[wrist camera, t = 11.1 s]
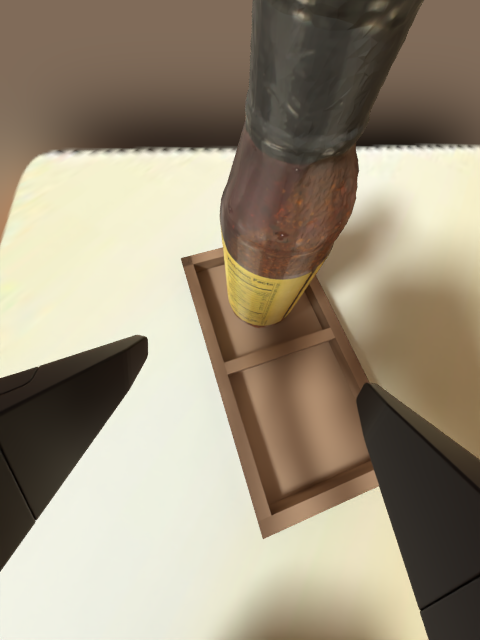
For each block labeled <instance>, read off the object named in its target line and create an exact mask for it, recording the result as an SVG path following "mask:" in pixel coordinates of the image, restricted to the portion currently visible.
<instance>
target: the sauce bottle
mask: <svg viewBox="0 0 480 640" xmlns="http://www.w3.org/2000/svg"><path fill="white" fill-rule="evenodd" d="M423 1H424V0H253V8H252V36H251V55H250V81H249V90H248V93H247V96H246V104H245V112H246V120H245V123H244V127H243V130H242V134H241V137H240V141H239V144H238V148H237V151H236V155H235V158H234V161H233V165H232V168H231V172H230V175H229V178H228V182H227V185H226V187H225V189H224V191H223V195H222V198H221V206H220V224H221V233H222V243H223V252H224V261H225V271H226V281H227V292H228V300H229V303H230V305H231V307H232V309H233V312H234V314H235V315H236V316H237V317H238V318H239V319H240V320H241V321H243V322H244V323H246V324H248V325H251V326H253V327H255V328H262V327H269V326H272V325H275V324H277V323H279V322H281V321H282V320H283V319H284V318H285V317H286V316H287V315H288V314H289V313H290V312H291V310H292V309H293V307H294V306H295V304H296V303H297V301H298V300H299V298H300V297H301V296H302V294H303V293H304V291H305V290H306V288H307V287H308V285H309V284H310V282H311V281H312V279H313V278H314V276H315V275H316V273H317V272H318V270H319V269H320V267H321V266H322V264H323V263H324V261H325V260H326V258H327V256H328V255H329V253H330V251H331V249H332V247H333V244H334V241H335V240H336V239H337V237H338V236H339V234H340V233H341V231H342V230H343V229H344V227H345V225H346V224H347V222H348V220H349V218H350V216H351V214H352V210H353V207H354V204H355V200H356V190H357V177H358V172H359V167H358V158H357V154H356V141H357V140H358V138H359V137H360V136H361V135H362V133H363V132H364V130H365V128H366V126H367V124H368V121H369V116H370V112H371V109H372V106H373V104H374V102H375V100H376V98H377V96H378V93H379V91H380V89H381V87H382V86H383V84H384V82H385V79H386V77H387V75H388V72H389V70H390V68H391V66H392V64H393V62H394V60H395V59H396V56H397V54H398V52H399V50H400V48H401V46H402V44H403V43H404V41H405V39H406V36H407V34H408V31H409V29H410V27H411V25H412V23H413V21H414V18H415V16H416V14H417V12H418V10H419V8H420V6H421V5H422V3H423Z"/></svg>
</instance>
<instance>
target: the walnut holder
mask: <svg viewBox="0 0 480 640" xmlns="http://www.w3.org/2000/svg"><path fill="white" fill-rule="evenodd" d="M181 261H182V264H183V268H184V271H185V274H186V278H187V281H188V285H189V288H190V292H191V295H192V298H193V302H194V305H195V309H196V312H197V315H198V319H199V322H200V326H201V329H202V332H203V336H204V339H205V343H206V346H207V350H208V353H209V356H210V360H211V363H212V367H213V370H214V373H215V377H216V380H217V384H218V387H219V390H220V394H221V397H222V401H223V404H224V408H225V411H226V414H227V418H228V421H229V425H230V428H231V431H232V435H233V438H234V442H235V445H236V448H237V452H238V455H239V459H240V462H241V466H242V469H243V472H244V476H245V479H246V483H247V486H248V489H249V493H250V496H251V500H252V503H253V506H254V510H255V513H256V517H257V520H258V524H259V527H260V530H261V534H262V537H263V539H264V538H266V537H269V536H271V535H273V534H275V533H277V532H280V531H282V530H284V529H286V528H288V527H290V526H293V525H295V524H297V523H299V522H301V521H304V520H306V519H308V518H310V517H312V516H314V515H317V514H319V513H321V512H323V511H325V510H328V509H330V508H332V507H334V506H336V505H339V504H341V503H343V502H345V501H347V500H349V499H352V498H354V497H356V496H358V495H360V494H363V493H365V492H367V491H369V490H371V489H373V488H376V487H378V486H379V484H378V481H377V478H376V475H375V472H374V469H373V466H372V462H371V459H370V456H369V453H368V450H367V447H366V444H365V440H364V436H363V432H362V428H361V423H360V418H359V414H358V409H357V404H356V398H357V396H358V394H359V392H360V390H361V388H362V387H363V385H364V384H365V383H367V382H368V383H369V381H368V379H367V377H366V375H365V373H364V371H363V369H362V367H361V365H360V363H359V361H358V359H357V357H356V355H355V353H354V351H353V349H352V347H351V345H350V343H349V341H348V339H347V337H346V335H345V333H344V331H343V329H342V327H341V325H340V323H339V321H338V319H337V317H336V315H335V313H334V311H333V309H332V307H331V305H330V303H329V301H328V299H327V297H326V295H325V293H324V291H323V289H322V287H321V285H320V283H319V281H318V279H317V277H316V275H315V276H314V278H313V279H312V281H311V282H310V284H309V285H308V287H307V288H306V290H305V291H304V293H303V294H302V296H301V297H300V298H299V300H298V301H297V303H296V304H295V306H294V307H293V309H292V310H291V312H290V313H289V314H288V315H287V316H286V317H285V318H284V319H283V320H282V321H281V322H279V323H277V324H275V325H272V326H269V327H262V328H255V327H253V326H251V325H248V324H246V323H244V322H243V321H241V320H240V319H239V318H238V317H237V316H236V315H235V314H234V312H233V309H232V307H231V305H230V303H229V300H228V292H227V281H226V271H225V261H224V252H223V248H219V249H215V250H211V251H207V252H203V253H199V254H196V255H192V256H188V257H184V258H181Z"/></svg>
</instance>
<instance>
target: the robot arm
mask: <svg viewBox="0 0 480 640" xmlns="http://www.w3.org/2000/svg"><path fill="white" fill-rule="evenodd" d="M147 356H148V339H147V337H145V336H141V335H134V336H131V337H128V338H125V339H122V340H119V341H116V342H113V343H110V344H106V345H103V346H100V347H97V348H94V349H91V350H88V351H85V352H82V353H78V354H75V355H72V356H69V357H66V358H63V359H60V360H57V361H54V362H50V363H47V364H44V365H41V366H40V367H35V368H32V369H29V370H26V371H22V372H19V373H16V374H13V375H9V376H6V377H3V378H0V571H1V570H2V569H3V567H4V566H5V564H6V563H7V562H8V560H9V559H10V557H11V556H12V555H13V553H14V552H15V550H16V549H17V547H18V546H19V545H20V543H21V542H22V540H23V539H24V538H25V536H26V535H27V533H28V532H29V531H30V529H31V528H32V526H33V525H34V524H35V520H37V519H38V518H39V516H40V515H41V513H42V512H43V511H44V509H45V508H46V506H47V505H48V504H49V502H50V501H51V499H52V498H53V496H54V495H55V494H56V492H57V491H58V489H59V488H60V487H61V485H62V484H63V482H64V481H65V480H66V478H67V477H68V475H69V474H70V473H71V471H72V470H73V468H74V467H75V466H76V464H77V463H78V461H79V460H80V458H81V457H82V456H83V454H84V453H85V451H86V450H87V449H88V447H89V446H90V444H91V443H92V442H93V440H94V439H95V437H96V436H97V435H98V433H99V432H100V430H101V429H102V428H103V426H104V425H105V423H106V422H107V420H108V419H109V418H110V416H111V415H112V413H113V412H114V411H115V409H116V408H117V406H118V405H119V404H120V402H121V401H122V399H123V398H124V397H125V395H126V394H127V392H128V391H129V389H130V388H131V386H132V384H133V382H134V381H135V379H136V377H137V375H138V373H139V372H140V370H141V368H142V366H143V364H144V363H145V361H146V359H147ZM356 404H357V409H358V414H359V418H360V423H361V428H362V432H363V436H364V440H365V444H366V447H367V450H368V453H369V456H370V459H371V462H372V466H373V469H374V472H375V475H376V478H377V481H378V484H379V487H380V490H381V493H382V496H383V499H384V503H385V506H386V509H387V512H388V515H389V518H390V521H391V524H392V527H393V530H394V533H395V536H396V540H397V543H398V546H399V549H400V552H401V555H402V558H403V561H404V564H405V567H406V570H407V573H408V577H409V580H410V583H411V586H412V589H413V592H414V595H415V598H416V601H417V604H418V607H419V609H420V610H421V611H420V614H421V617H422V620H423V623H424V626H425V630H426V633H427V636H428V639H429V640H480V460H479V459H478V458H477V457H475V456H474V455H473V454H471V453H470V452H468V451H467V450H466V449H464V448H463V447H462V446H460V445H459V444H458V443H456V442H455V441H453V440H452V439H451V438H449V437H448V436H447V435H445V434H444V433H443V432H441V431H440V430H439V429H437V428H436V427H434V426H433V425H432V424H430V423H429V422H428V421H426V420H425V419H424V418H422V417H421V416H420V415H418V414H417V413H415V412H414V411H413V410H411V409H410V408H409V407H407V406H406V405H405V404H403V403H402V402H400V401H399V400H398V399H396V398H395V397H394V396H392V395H391V394H390V393H388V392H387V391H386V390H384V389H383V388H381V387H380V386H379V385H377V384H373V383H368V382H367V383H365V384H364V385H363V387H362V388H361V390H360V392H359V394H358V396H357V398H356Z"/></svg>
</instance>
